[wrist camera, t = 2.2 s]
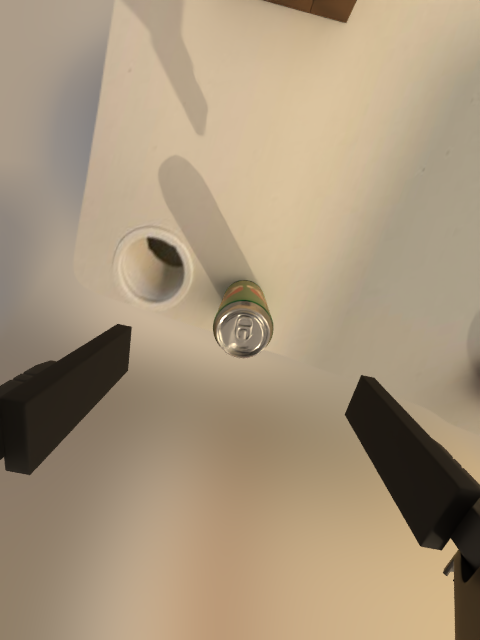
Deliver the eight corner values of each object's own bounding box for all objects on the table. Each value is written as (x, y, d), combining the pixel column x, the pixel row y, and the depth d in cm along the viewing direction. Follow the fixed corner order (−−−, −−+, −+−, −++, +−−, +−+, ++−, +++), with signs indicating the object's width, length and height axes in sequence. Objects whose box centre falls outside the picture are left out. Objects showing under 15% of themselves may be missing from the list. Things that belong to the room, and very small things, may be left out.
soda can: (222, 316, 31) (208, 358, 20) (226, 277, 30) (214, 299, 18) (260, 320, 31) (269, 366, 20) (267, 282, 30) (279, 307, 18)
